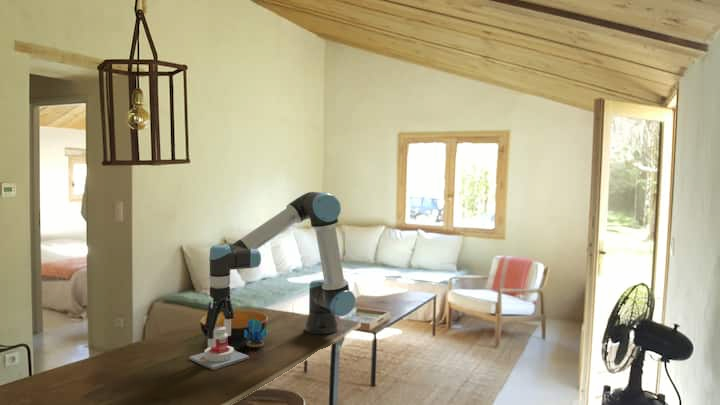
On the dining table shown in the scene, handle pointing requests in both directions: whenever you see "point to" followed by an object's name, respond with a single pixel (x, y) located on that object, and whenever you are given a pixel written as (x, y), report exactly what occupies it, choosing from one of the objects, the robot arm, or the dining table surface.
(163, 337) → the dining table surface
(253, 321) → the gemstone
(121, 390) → the dining table surface
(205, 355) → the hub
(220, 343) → the pill bottle
